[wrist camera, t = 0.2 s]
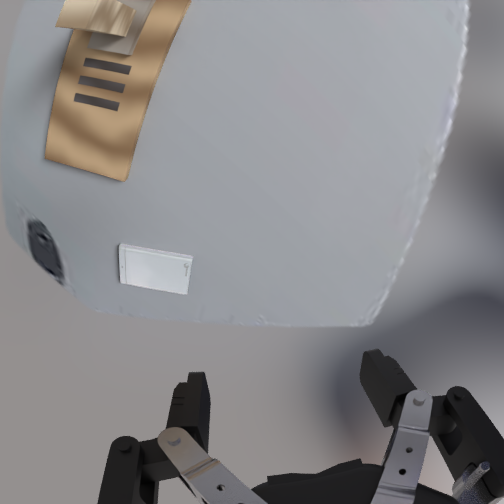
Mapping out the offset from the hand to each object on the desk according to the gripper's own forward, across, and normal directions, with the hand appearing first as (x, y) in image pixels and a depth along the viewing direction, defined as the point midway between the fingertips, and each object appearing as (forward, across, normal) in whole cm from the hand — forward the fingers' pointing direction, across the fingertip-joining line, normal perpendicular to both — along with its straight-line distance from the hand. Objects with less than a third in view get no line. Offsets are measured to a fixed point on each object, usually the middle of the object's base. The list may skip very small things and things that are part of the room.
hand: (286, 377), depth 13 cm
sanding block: (+21, +14, -30) cm, 39 cm away
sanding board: (+24, +17, -24) cm, 38 cm away
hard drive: (+36, +16, +5) cm, 39 cm away
